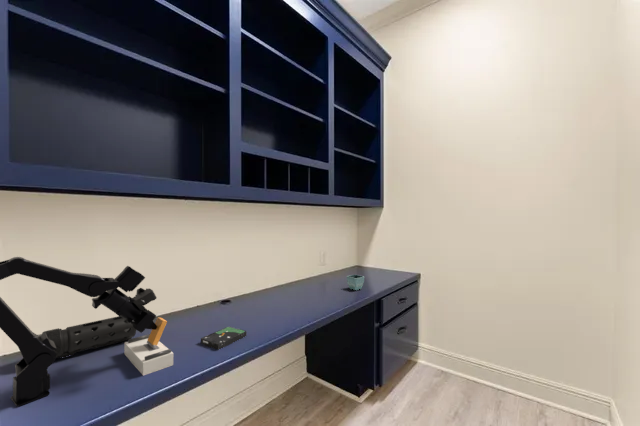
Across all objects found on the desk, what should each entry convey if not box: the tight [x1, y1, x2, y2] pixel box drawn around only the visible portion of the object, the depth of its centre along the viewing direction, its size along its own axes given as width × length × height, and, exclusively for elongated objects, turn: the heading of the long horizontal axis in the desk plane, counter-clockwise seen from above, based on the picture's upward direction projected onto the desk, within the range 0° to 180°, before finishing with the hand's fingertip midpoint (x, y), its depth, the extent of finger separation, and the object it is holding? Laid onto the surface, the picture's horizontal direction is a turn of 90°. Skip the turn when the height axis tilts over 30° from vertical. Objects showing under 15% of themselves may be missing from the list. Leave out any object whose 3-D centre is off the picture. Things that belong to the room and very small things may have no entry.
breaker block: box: [123, 333, 174, 376], centre depth 102 cm, size 9×20×5 cm, turn 47°
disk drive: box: [200, 325, 248, 351], centre depth 119 cm, size 10×3×15 cm
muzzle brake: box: [38, 315, 137, 359], centre depth 108 cm, size 10×28×10 cm, turn 139°
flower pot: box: [346, 274, 365, 291], centre depth 200 cm, size 9×9×9 cm
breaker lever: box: [147, 316, 168, 349], centre depth 104 cm, size 2×6×9 cm, turn 48°
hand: (156, 328), depth 104 cm, fingers closed, pressing on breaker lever
